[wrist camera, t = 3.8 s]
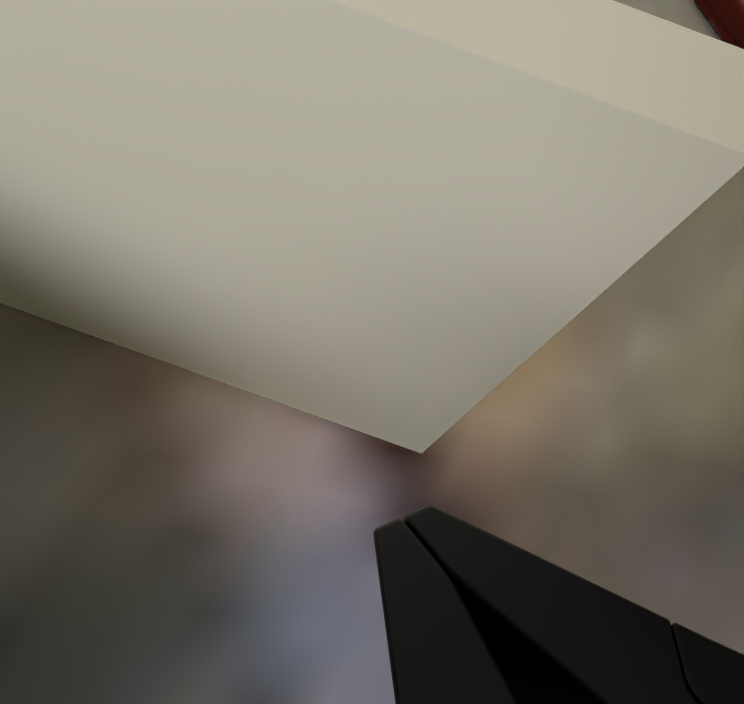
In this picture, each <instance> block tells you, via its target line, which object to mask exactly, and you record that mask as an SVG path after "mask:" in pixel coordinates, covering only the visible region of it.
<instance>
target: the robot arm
mask: <svg viewBox="0 0 744 704" xmlns="http://www.w3.org/2000/svg"><path fill="white" fill-rule="evenodd" d="M374 543H375V550H376V558H377V566H378V573H379V581H380V588H381V596H382V604H383V611H384V619H385V626H386V634H387V642H388V649H389V657H390V665H391V672H392V680H393V687H394V695H395V703H396V704H744V654H741V653H739V652H737V651H735V650H733V649H730V648H728V647H726V646H724V645H722V644H719V643H717V642H715V641H713V640H711V639H708V638H706V637H704V636H702V635H700V634H698V633H696V632H694V631H692V630H690V629H688V628H686V627H684V626H681V625H679V624H677V623H673V624H672V625H671V624H670V621H669V620H668V619H666V618H664V617H662V616H660V615H658V614H656V613H654V612H652V611H650V610H648V609H646V608H644V607H642V606H639V605H637V604H635V603H633V602H631V601H629V600H627V599H625V598H623V597H621V596H619V595H617V594H615V593H613V592H610V591H608V590H606V589H604V588H602V587H600V586H598V585H596V584H594V583H592V582H590V581H588V580H586V579H584V578H582V577H579V576H577V575H575V574H573V573H571V572H569V571H567V570H565V569H563V568H561V567H559V566H557V565H555V564H553V563H550V562H548V561H546V560H544V559H542V558H540V557H538V556H536V555H534V554H532V553H530V552H528V551H526V550H524V549H521V548H519V547H517V546H515V545H513V544H511V543H509V542H507V541H505V540H503V539H501V538H499V537H497V536H495V535H493V534H490V533H488V532H486V531H484V530H482V529H480V528H478V527H476V526H474V525H472V524H470V523H468V522H466V521H464V520H461V519H459V518H457V517H455V516H453V515H451V514H449V513H447V512H445V511H443V510H441V509H439V508H437V507H434V506H430V505H428V506H425V507H422V508H420V509H418V510H416V511H413V512H411V513H409V514H407V515H405V517H404V518H403V520H401V519H395V520H393V521H391V522H389V523H387V524H384V525H382V526H380V527H378V528H376V529H375V530H374Z"/></svg>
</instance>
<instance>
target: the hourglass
mask: <svg viewBox="0 0 744 704" xmlns="http://www.w3.org/2000/svg"><path fill="white" fill-rule="evenodd" d="M695 2H696V4H697V6H698V7H699V9H700V10H701V11H702V13H703V14H704V15H705V17H706V18H707V20H708V21H709V22H710V24H711V25H712V26H713V28H714V29H715V31H716V32H717V33H718V35H719V36H720V37H721V39H722V40H723V42H726V43H729V44H731V45H734V46H737V47H739V48H742V49H744V0H695Z"/></svg>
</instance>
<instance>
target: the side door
mask: <svg viewBox="0 0 744 704" xmlns="http://www.w3.org/2000/svg"><path fill="white" fill-rule="evenodd" d="M743 167H744V49H742V48H739V47H737V46H734V45H731V44H729V43H726V42H723V41H721V40H718V39H715V38H713V37H710V36H707V35H705V34H702V33H699V32H697V31H694V30H691V29H689V28H686V27H683V26H681V25H678V24H675V23H673V22H670V21H667V20H665V19H662V18H659V17H657V16H654V15H651V14H649V13H646V12H643V11H641V10H638V9H635V8H633V7H630V6H627V5H625V4H622V3H619V2H617V1H614V0H0V303H1V304H4V305H7V306H10V307H13V308H15V309H18V310H21V311H24V312H27V313H29V314H32V315H35V316H38V317H41V318H43V319H46V320H49V321H52V322H55V323H57V324H60V325H63V326H66V327H69V328H71V329H74V330H77V331H80V332H83V333H85V334H88V335H91V336H94V337H97V338H99V339H102V340H105V341H108V342H111V343H113V344H116V345H119V346H122V347H125V348H127V349H130V350H133V351H136V352H139V353H141V354H144V355H147V356H150V357H153V358H155V359H158V360H161V361H164V362H167V363H169V364H172V365H175V366H178V367H181V368H183V369H186V370H189V371H192V372H195V373H197V374H200V375H203V376H206V377H209V378H211V379H214V380H217V381H220V382H223V383H225V384H228V385H231V386H234V387H237V388H239V389H242V390H245V391H248V392H251V393H253V394H256V395H259V396H262V397H265V398H267V399H270V400H273V401H276V402H279V403H281V404H284V405H287V406H290V407H293V408H295V409H298V410H301V411H304V412H307V413H309V414H312V415H315V416H318V417H321V418H323V419H326V420H329V421H332V422H335V423H337V424H340V425H343V426H346V427H349V428H351V429H354V430H357V431H360V432H363V433H365V434H368V435H371V436H374V437H377V438H379V439H382V440H385V441H388V442H391V443H393V444H396V445H399V446H402V447H405V448H407V449H410V450H413V451H416V452H419V453H421V454H422V453H423V452H424V451H425V450H426V449H427V448H428V447H429V446H431V445H432V444H433V443H434V442H435V441H436V440H437V439H438V438H440V437H441V436H442V435H443V434H444V433H445V432H446V431H447V430H448V429H450V428H451V427H452V426H453V425H454V424H455V423H456V422H457V421H459V420H460V419H461V418H462V417H463V416H464V415H465V414H466V413H468V412H469V411H470V410H471V409H472V408H473V407H474V406H475V405H477V404H478V403H479V402H480V401H481V400H482V399H483V398H484V397H486V396H487V395H488V394H489V393H490V392H491V391H492V390H493V389H495V388H496V387H497V386H498V385H499V384H500V383H501V382H502V381H504V380H505V379H506V378H507V377H508V376H509V375H510V374H511V373H513V372H514V371H515V370H516V369H517V368H518V367H519V366H520V365H522V364H523V363H524V362H525V361H526V360H527V359H528V358H529V357H530V356H532V355H533V354H534V353H535V352H536V351H537V350H538V349H539V348H541V347H542V346H543V345H544V344H545V343H546V342H547V341H548V340H550V339H551V338H552V337H553V336H554V335H555V334H556V333H557V332H559V331H560V330H561V329H562V328H563V327H564V326H565V325H566V324H568V323H569V322H570V321H571V320H572V319H573V318H574V317H575V316H577V315H578V314H579V313H580V312H581V311H582V310H583V309H584V308H586V307H587V306H588V305H589V304H590V303H591V302H592V301H593V300H595V299H596V298H597V297H598V296H599V295H600V294H601V293H602V292H604V291H605V290H606V289H607V288H608V287H609V286H610V285H611V284H612V283H614V282H615V281H616V280H617V279H618V278H619V277H620V276H621V275H623V274H624V273H625V272H626V271H627V270H628V269H629V268H630V267H632V266H633V265H634V264H635V263H636V262H637V261H638V260H639V259H641V258H642V257H643V256H644V255H645V254H646V253H647V252H648V251H650V250H651V249H652V248H653V247H654V246H655V245H656V244H657V243H659V242H660V241H661V240H662V239H663V238H664V237H665V236H666V235H668V234H669V233H670V232H671V231H672V230H673V229H674V228H675V227H677V226H678V225H679V224H680V223H681V222H682V221H683V220H684V219H686V218H687V217H688V216H689V215H690V214H691V213H692V212H693V211H694V210H696V209H697V208H698V207H699V206H700V205H701V204H702V203H703V202H705V201H706V200H707V199H708V198H709V197H710V196H711V195H712V194H714V193H715V192H716V191H717V190H718V189H719V188H720V187H721V186H723V185H724V184H725V183H726V182H727V181H728V180H729V179H730V178H732V177H733V176H734V175H735V174H736V173H737V172H738V171H739V170H741V169H742V168H743Z"/></svg>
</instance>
